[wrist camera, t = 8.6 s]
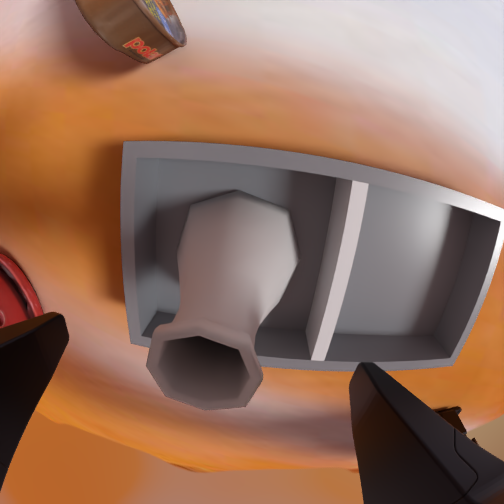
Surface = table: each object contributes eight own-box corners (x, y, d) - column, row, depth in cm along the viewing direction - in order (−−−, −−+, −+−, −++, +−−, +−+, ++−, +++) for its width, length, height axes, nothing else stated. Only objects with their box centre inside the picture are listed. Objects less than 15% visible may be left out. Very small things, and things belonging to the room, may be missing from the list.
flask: (293, 310, 17) (312, 447, 8) (180, 301, 17) (116, 422, 8) (306, 193, 15) (371, 253, 5) (177, 188, 15) (59, 235, 6)
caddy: (431, 336, 19) (452, 365, 15) (152, 311, 19) (130, 343, 15) (474, 200, 15) (509, 211, 11) (154, 143, 15) (123, 141, 11)
